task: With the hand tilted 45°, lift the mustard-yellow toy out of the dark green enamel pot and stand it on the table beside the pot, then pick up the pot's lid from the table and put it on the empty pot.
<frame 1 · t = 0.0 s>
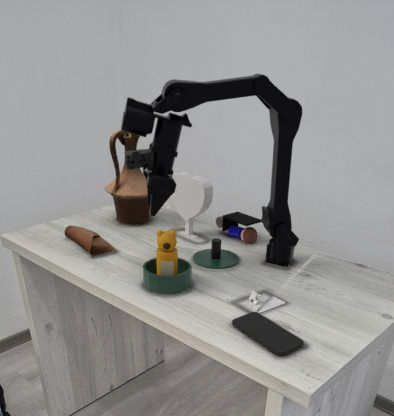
hand: (150, 209, 112), 15 cm above the table, tool pointing down, fingers open, 9 cm apart
adhesive hook: (259, 303, 106), on the table
figurine character: (237, 238, 140), on the table
pot lid: (215, 259, 125), point 1 cm above the table
heart sculpture: (188, 236, 141), on the table
pot: (167, 284, 113), on the table
phone: (266, 335, 95), on the table
sunglasses case: (90, 245, 133), on the table
pitcher: (132, 220, 152), on the table
toy: (167, 283, 113), resting on pot
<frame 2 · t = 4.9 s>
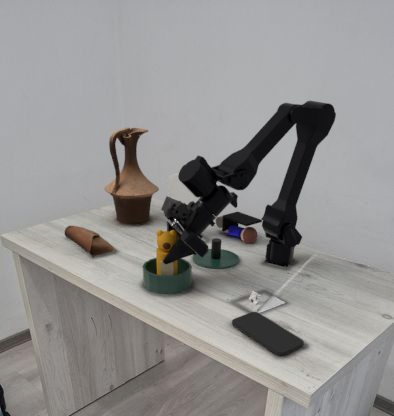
hand: (161, 258, 109), 7 cm above the table, tool tilted 45°, fingers closed on toy, 5 cm apart
toy: (167, 283, 113), resting on pot, touching gripper
everything else where it was.
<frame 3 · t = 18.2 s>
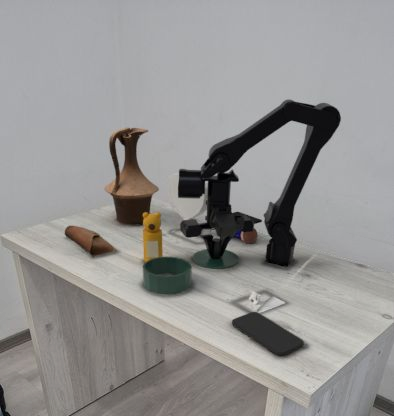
hand: (215, 256, 125), 1 cm above the table, tool pointing down, fingers closed on pot lid, 3 cm apart
pot lid: (215, 259, 125), point 1 cm above the table, touching gripper
toy: (153, 261, 124), on the table
everything else where it was.
when the fingers open (6 cm above the table, at t = 23.1 s): pot lid stays where it is, resting on pot.
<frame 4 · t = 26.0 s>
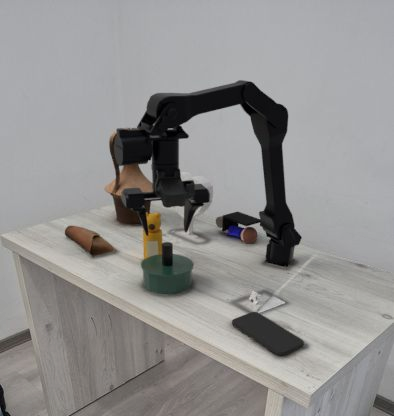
hand: (166, 233, 106), 13 cm above the table, tool pointing down, fingers open, 9 cm apart
pot lid: (167, 265, 110), point 5 cm above the table, touching pot
everything else where it was.
at the end: toy 0.1 cm from the target spot, on the table; toy tilted 0°; pot lid 0.1 cm off-centre on the pot, point 4.9 cm above the pot's base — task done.
